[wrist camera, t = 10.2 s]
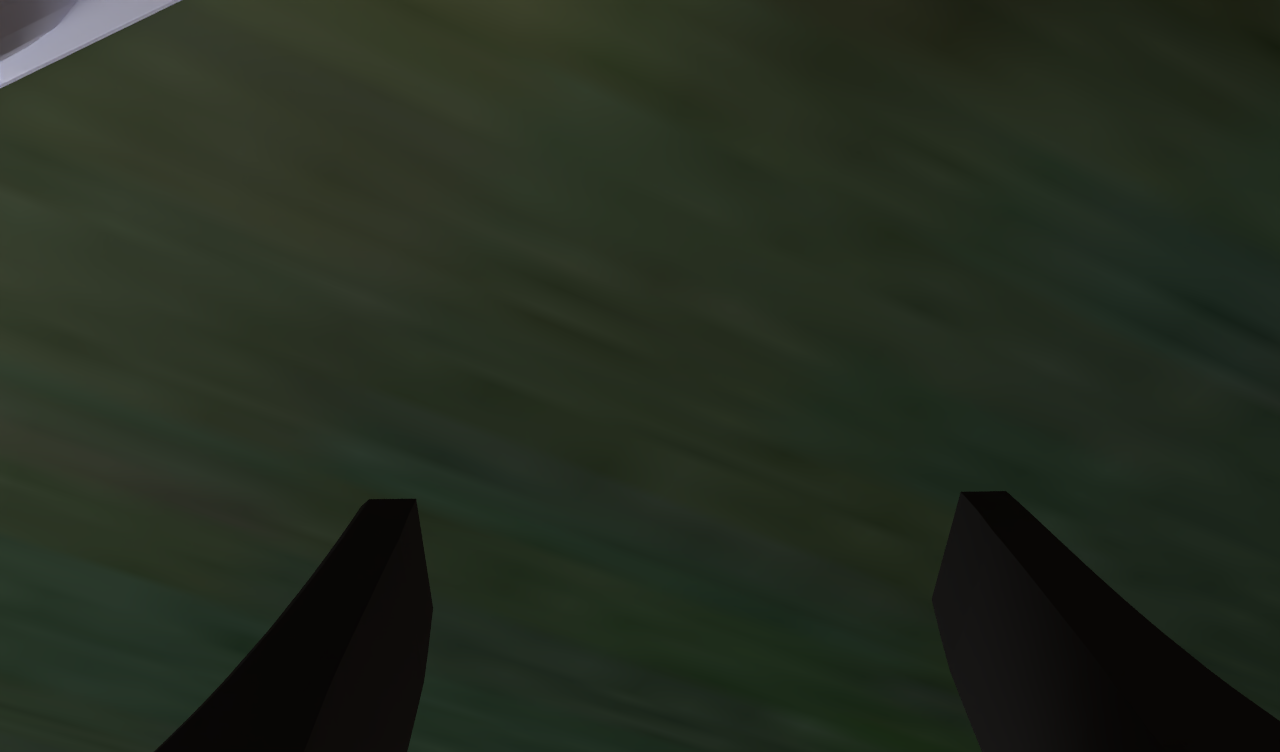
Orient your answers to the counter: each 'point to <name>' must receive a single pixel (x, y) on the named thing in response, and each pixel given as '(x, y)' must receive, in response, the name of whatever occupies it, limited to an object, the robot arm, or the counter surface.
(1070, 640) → the robot arm
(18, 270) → the counter surface
